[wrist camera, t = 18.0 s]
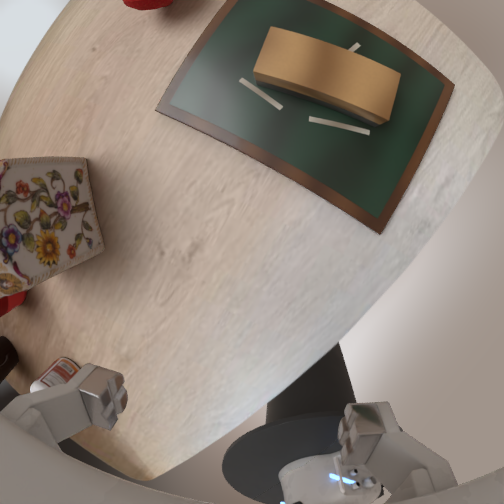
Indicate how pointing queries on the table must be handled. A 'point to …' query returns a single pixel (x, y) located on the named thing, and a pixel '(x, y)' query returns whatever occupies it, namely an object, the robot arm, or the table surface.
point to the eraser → (327, 76)
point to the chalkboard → (310, 106)
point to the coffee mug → (7, 357)
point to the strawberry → (147, 4)
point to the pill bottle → (55, 374)
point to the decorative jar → (44, 220)
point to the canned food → (11, 302)
